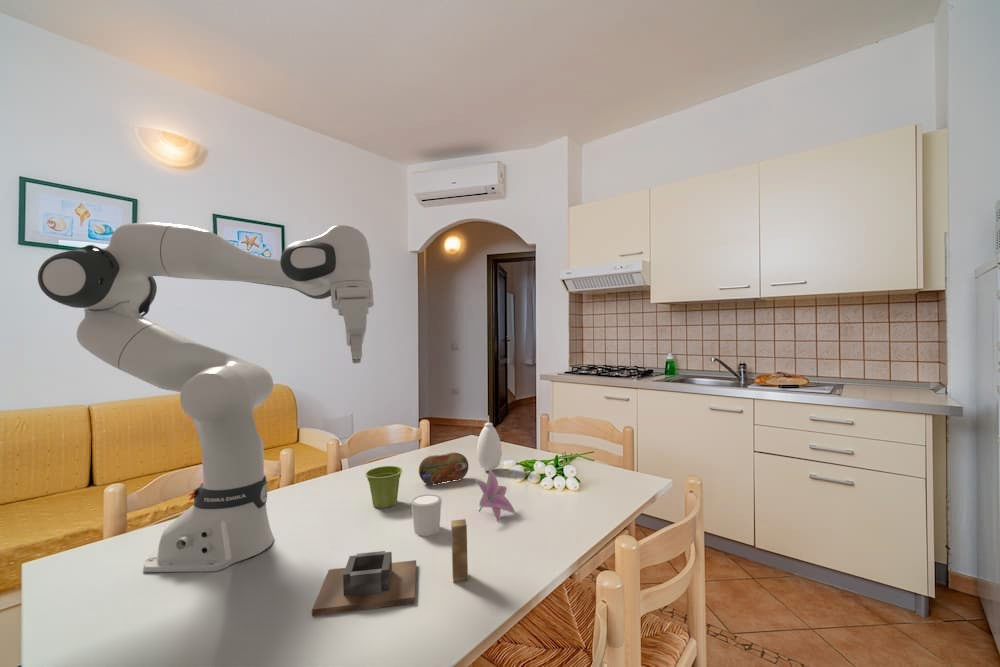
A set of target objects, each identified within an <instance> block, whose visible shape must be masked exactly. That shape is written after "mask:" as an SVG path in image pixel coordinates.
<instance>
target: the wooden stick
mask: <svg viewBox="0 0 1000 667" xmlns="http://www.w3.org/2000/svg"><path fill="white" fill-rule="evenodd" d="M450 524H451V529H450V530H451V561H452V562H451V564H452V570H451V571H452V582H453V583H454V584H455V583H461V582H468V581H469V572H468V571H469V569H468V567H469V566H468V534H467V533H468V531H467V530H468V529H467V526H468V525H467V520H466V519H464V518H463V519H454V520H450Z"/></svg>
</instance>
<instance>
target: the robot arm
mask: <svg viewBox="0 0 1000 667" xmlns="http://www.w3.org/2000/svg"><path fill="white" fill-rule="evenodd" d="M368 244H369V243H368V241H367V238H366V236H365V235H364V233H363V232H362V231H360V230H359V229H357V228H354V227H353V226H348V225H334V226H331V227H330V228H329V229H328V230H327V231H326V232H324V233H322V234H321V235H319V236H318V235H317V236H316V237H313V238H310V239H306V240H298V241H297V240H296V241H295V242H292V243H290V244H289V245H287V246H286V247H285V249H284V250H283V251H282V253H281V256H280V259H276V258H271V257H265V256H260V255H255V254H252V253H249V252H247V251H245V250H243V249H241V248H239V247H238V246H236V245H234V244H232V243H231V242H229V241H228V240H226V239H224V238H223V237H221V236H220V235H218V234H216V233H214V232H212V231H208V230H206V229H202V228H199V227H195V226H189V225H186V224H185V225H183V224H173V223H165V222H163V223H162V222H134V223H126V224H123V225H120V226H119V227H117V228H116V229H115V230H114V231H113V233H112V234H111V237H110V240H109V245H108V246H107V247H105V248H104V247H102V246H100V245H97V244H88V245H85V246H83V247H80V248H77V249H72V250H67V251H62V252H59V253H56V254H55V255H52V256H50V257H49V258H47V259H46V260H45V261H44V262H43V263H42V264H41V266H40V267H39V269H38V272H37V273H38V274H37V282H38V286H39V288H40V290H41V291H42V292H43V293H44V294H45V295H46V296H47V297H48V298H50V299H51V300H52V301H54V302H57V303H59V304H61V305H64V306H67V307H70V308H76V309H83V311H84V318H83V319H82V320H81V322H80V323H79V325H78V327H77V329H76V339H77V341H78V343H79V344H80V346H81V347H82V348H84V349H85V350H86V351H88V352H89V353H90V354H91V355H93V356H95V357H96V358H98V359H99V360H101V361H102V362H105V363H106V364H108V365H109V366H112V367H114V368H115V369H118V370H119V371H122V372H124V373H126V374H127V375H128V374H129V375H130V376H133V377H134V378H137V379H139V380H141V381H142V382H143V381H144V382H145V383H147V384H150V385H153V386H154V387H157V388H159V389H162V390H166V391H172V392H176V393H180V394H179V395H180V396H179V401H180V406H181V407H182V408H181V409H182V410H183V411H184V413H185V414H186V415H187V416H188V417H189V418H190V419H191V420H192V423H193V424H194V428H195V430H196V431H195V432H196V433H197V436H198V439H199V443H200V447H201V448H200V449H201V456H202V458H201V459H202V460H201V461H202V464H201V465H202V483H200V486H198V487H197V488H196V489H194V490H193V491H192V492H191V493H190V494H189V499H188V500H189V501H191V500H194V501H193V502H194V503H193V505H191V506H190V507H189V508H188V509H186V510H185V511H184V512H183V513H182V514H180V516H178V517H177V518H175V519H174V520H173V521H172V522H171V523H170V524H168V526H167V527H166V528H165V529H164V530H163V532H162V534H161V536H160V539H159V543H158V548H157V549H156V550H155V551H153V552H152V553H151V554H149V556H148V557H147V558H146V560H145V561H144V563H143V572H144V573H145V572H149V573H157V572H158V573H160V572H162V573H163V572H165V573H167V572H172V573H173V572H174V573H175V572H178V573H179V572H180V573H181V572H184V573H186V572H217V571H221V570H223V569H225V568H227V567H229V566H231V565H233V564H235V563H238V562H241V561H244V560H246V559H249V558H251V557H254V556H256V555H258V554H260V553H262V552H263V551H266V549H268V548H269V547H270V546H271V545H272V544H273V543H274V541H275V537H274V534H273V532H272V529H271V525H270V521H269V516H268V512H267V500H268V485H267V476H266V475H265V466H264V463H265V461H264V460H265V459H264V456H265V455H264V454H265V453H264V440H263V438H262V437H261V436H260V434H259V432H258V429H257V426H256V422H255V421H256V420H255V418H254V417H255V415H254V410H255V409H258V408H259V407H260V406H262V405H263V404H264V403H265V402H266V401H267V400H268V398H270V396H271V394H272V392H273V388H274V381H273V378H272V375H271V373H270V372H269V371H268V370H267V369H266V368H264V367H262V366H260V365H257V364H255V363H253V362H250V361H246V360H244V359H242V358H239V357H237V356H234V355H231V354H228V353H227V352H223V351H221V350H218V349H215V348H212V347H209V346H206V345H203V344H201V343H198V342H196V341H193V340H191V339H189V338H188V337H185V336H183V335H181V334H179V333H176V332H174V331H173V330H170V329H168V328H166V327H164V326H162V325H160V324H158V323H156V322H154V321H151V320H149V319H148V318H146V317H144V316H146V315H147V314H148V313H149V312H150V307H151V305H152V303H153V302H154V301H155V297H156V295H157V292H158V290H157V289H158V288H157V283H156V280H155V278H154V277H158V276H159V277H166V278H167V277H168V278H175V279H185V280H186V279H187V280H205V281H207V280H211V281H225V282H226V281H227V282H245V283H252V284H259V285H265V286H273V287H280V288H287V289H291V290H295V291H297V292H299V293H301V294H303V295H304V296H306V297H309V298H311V299H315V300H324V299H327V298H329V297H330V301H331V308H332V309H334V310H337V312H338V315H339V316H341V317H343V321H344V326H345V339H346V340H345V341H346V346H348V347H350V352H351V361H352V363H353V365H354V364H361V362H362V361H361V360H362V359H363V358H362V357H363V342H364V339H365V334H366V330H367V320H368V319H367V316H368V314H369V309H370V308H372V307H374V304H375V303H374V293H373V292H374V291H373V282H372V279H371V276H370V272H371V269H372V268H371V267H372V265H371V256H370V249H369V248H370V247H369V245H368Z"/></svg>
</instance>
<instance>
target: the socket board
mask: <svg viewBox="0 0 1000 667" xmlns="http://www.w3.org/2000/svg"><path fill="white" fill-rule="evenodd" d="M392 553H393V552H392V551H387V552H386V550H381V551H380V550H379V551H372V552H371V551H370V552H361V553H357V554H356V555H349V556H348V560H347V562H346V565H345V567H339V568H330V569H328V570H327V573H326V576H325V578H324V579H323V582H322V585H321V587H320V589H319V592H318V595H317V597H316V599H315V601H314V603H313V606H312V608H311V616H312V617H315V616H323V615H330V614H331V615H332V614H339V613H348V612H354V611H363V610H373V609H380V608H385V607H386V608H387V607H395V606H403V605H404V606H405V605H412V604H415V600H416V599H415V596H416V579H417V578H416V576H417V559H416V560H407V561H406V560H405V561H396V562H393V559H392V558H393V556H392Z"/></svg>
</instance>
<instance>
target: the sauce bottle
mask: <svg viewBox="0 0 1000 667" xmlns="http://www.w3.org/2000/svg"><path fill="white" fill-rule="evenodd" d="M502 451H503V449H502V442H501V439H500V435H499V433H498V431H497V430H496V428H495V427H494V424H493V423H492V422H490V416H489V415H487V422H486V423H485V422H484V427H483V428H482V429H481V431H480V433H479V436H478V440H477V445H476V456H477V460H478V463H479V465H480V468H482V469H484V471H486V472H488V471H489V469H491V470H493V471H494V470H496V468H498V467H499V466H500V462H501V460H502V454H503V452H502Z"/></svg>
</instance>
